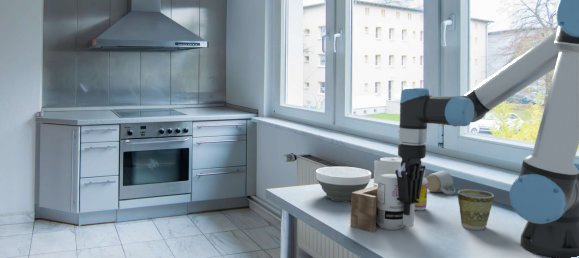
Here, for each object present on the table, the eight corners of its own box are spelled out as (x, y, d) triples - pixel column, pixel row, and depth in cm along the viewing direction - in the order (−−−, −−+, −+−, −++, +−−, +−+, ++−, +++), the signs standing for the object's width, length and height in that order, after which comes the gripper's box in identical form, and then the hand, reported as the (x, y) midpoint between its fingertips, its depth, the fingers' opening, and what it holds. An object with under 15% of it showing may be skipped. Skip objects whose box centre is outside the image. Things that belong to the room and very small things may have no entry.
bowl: (312, 191, 186) (313, 166, 184) (364, 191, 186) (365, 166, 185) (317, 205, 166) (318, 177, 165) (375, 205, 167) (376, 177, 166)
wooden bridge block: (405, 219, 152) (406, 187, 150) (372, 232, 138) (373, 197, 137) (384, 214, 157) (385, 183, 156) (350, 226, 144) (351, 192, 142)
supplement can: (383, 220, 150) (385, 171, 149) (409, 225, 146) (411, 175, 144) (371, 226, 144) (373, 175, 142) (398, 232, 139) (400, 179, 137)
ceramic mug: (423, 190, 190) (424, 171, 189) (435, 188, 195) (437, 168, 194) (447, 197, 182) (449, 176, 181) (459, 193, 187) (461, 173, 186)
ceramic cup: (478, 234, 139) (481, 199, 138) (448, 224, 147) (450, 191, 146) (504, 226, 147) (506, 193, 145) (474, 218, 155) (476, 186, 153)
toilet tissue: (410, 183, 201) (411, 159, 200) (395, 188, 193) (396, 163, 191) (387, 179, 209) (388, 156, 207) (372, 184, 200) (373, 159, 199)
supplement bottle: (426, 211, 161) (429, 172, 159) (405, 210, 162) (407, 171, 160) (425, 206, 167) (427, 168, 166) (405, 205, 168) (407, 167, 167)
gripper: (411, 139, 145) (407, 217, 148) (388, 143, 136) (384, 227, 139) (435, 142, 140) (431, 223, 143) (412, 146, 131) (408, 233, 133)
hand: (408, 225), depth 141 cm, fingers closed
